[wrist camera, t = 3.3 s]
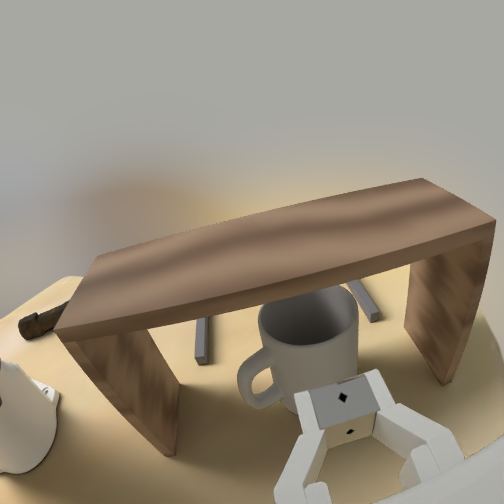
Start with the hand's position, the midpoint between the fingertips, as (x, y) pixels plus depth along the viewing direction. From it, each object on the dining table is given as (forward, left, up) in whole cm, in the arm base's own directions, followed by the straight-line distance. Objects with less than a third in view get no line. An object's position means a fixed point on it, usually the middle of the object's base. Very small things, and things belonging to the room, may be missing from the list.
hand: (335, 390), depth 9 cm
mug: (-6, +11, -19) cm, 22 cm away
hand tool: (-54, +9, -19) cm, 58 cm away
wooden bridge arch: (-6, +11, -18) cm, 22 cm away
